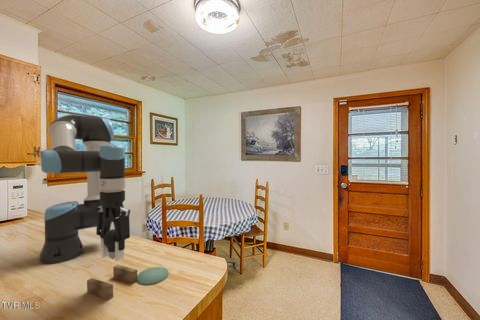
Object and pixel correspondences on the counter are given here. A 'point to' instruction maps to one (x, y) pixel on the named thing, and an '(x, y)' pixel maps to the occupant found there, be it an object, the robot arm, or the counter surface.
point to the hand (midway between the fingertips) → (112, 257)
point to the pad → (152, 275)
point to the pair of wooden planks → (105, 288)
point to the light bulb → (110, 242)
